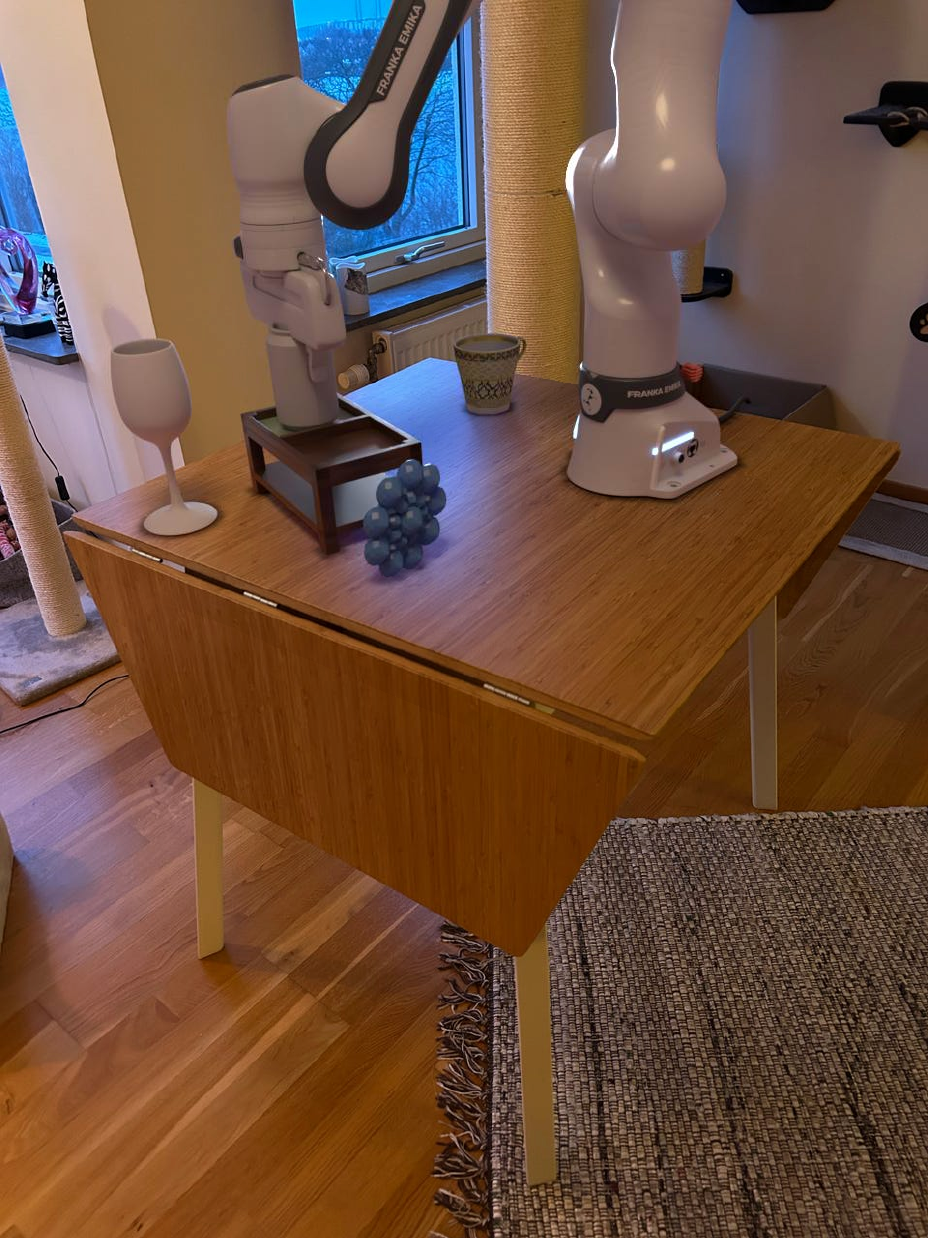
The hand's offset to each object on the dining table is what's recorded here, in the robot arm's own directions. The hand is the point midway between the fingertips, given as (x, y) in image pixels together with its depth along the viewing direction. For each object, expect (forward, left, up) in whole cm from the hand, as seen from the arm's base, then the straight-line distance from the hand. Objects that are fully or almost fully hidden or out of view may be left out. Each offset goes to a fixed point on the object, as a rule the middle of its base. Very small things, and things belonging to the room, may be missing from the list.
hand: (301, 371), depth 108 cm
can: (0, 0, -6) cm, 7 cm away
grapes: (+1, +23, -16) cm, 28 cm away
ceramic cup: (-36, -13, -16) cm, 41 cm away
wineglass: (+17, -3, -16) cm, 23 cm away
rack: (0, +5, -16) cm, 16 cm away
